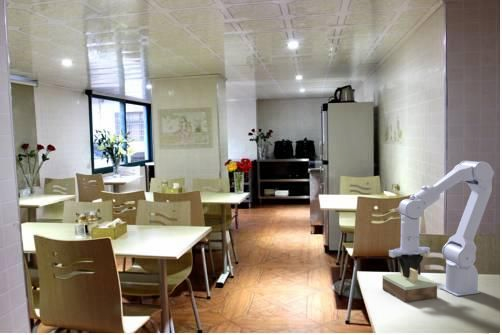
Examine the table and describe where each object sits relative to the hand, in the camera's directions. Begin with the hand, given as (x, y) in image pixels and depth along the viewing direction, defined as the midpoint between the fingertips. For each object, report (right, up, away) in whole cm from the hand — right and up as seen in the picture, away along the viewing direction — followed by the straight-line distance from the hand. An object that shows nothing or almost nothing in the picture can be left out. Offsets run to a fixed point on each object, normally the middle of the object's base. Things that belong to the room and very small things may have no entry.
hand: (409, 276), depth 135 cm
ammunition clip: (+6, -5, +15) cm, 17 cm away
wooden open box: (0, -6, 0) cm, 6 cm away
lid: (0, -3, 0) cm, 3 cm away
